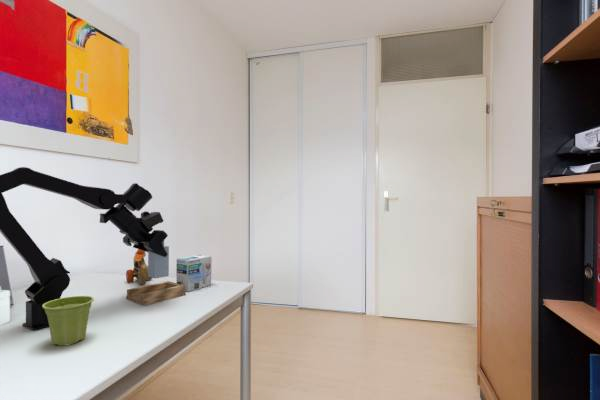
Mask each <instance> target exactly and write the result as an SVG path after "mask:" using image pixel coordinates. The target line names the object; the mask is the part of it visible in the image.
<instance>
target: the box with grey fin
mask: <svg viewBox="0 0 600 400" xmlns="http://www.w3.org/2000/svg"><path fill="white" fill-rule="evenodd" d="M162 245H163V247H164V249H165V250H166V252H167V254H168V255H167V256H166V257H163V256H160V255H158V254H155V253H152V252H150V251H148V252H147V255H148V257H147V263H148V264H147V266H148V277H151V278H152V279H155V280H157V279H162V278H166V277H169V272H170V271H169V270H170V266H169V265H170V263H169V262H170V261H169V260H170V246H167V245H165V240H164V241H163V242H162Z"/></svg>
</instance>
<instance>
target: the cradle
mask: <svg viewBox="0 0 600 400" xmlns="http://www.w3.org/2000/svg"><path fill="white" fill-rule="evenodd" d="M186 292H187V291H185V285H181V284H177V282H173V281H169V280H166V281H162V282H157V283H153V284H152V283H151V284H147V285H142V286H138V287H133V288H129V289H128V288H127V289H126V300H129V301H130V302H133V303H136V304H139V305H142V306H143V307H144V306H147V305H152V304H154V303H160V302H164V301H168V300H171V298H172V299H175V297H176V298H179V296H180V297H183V295H184V296H186V295H187V293H186Z"/></svg>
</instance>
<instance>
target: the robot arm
mask: <svg viewBox="0 0 600 400" xmlns="http://www.w3.org/2000/svg"><path fill="white" fill-rule="evenodd" d="M22 185H25V186H28V187H31V188H36V189H39V190H43V191H46V192H50V193H53V194H57V195H60V196H64V197H68V198H71V199H74V200H77V201H78V202H80V203H82V204H83V205H86V207H90V208H92V209H95V210H107V211H106V212H105V213H101V212H100V213H99V217H100V218H99V223H100V224H107V223H109V222H111V224H113V225H114V226H115V227H116V228H118V230H119V233H120V234H123V235H124V236H123V238H122V243H123V244H124V245H126V246H127V247H131V246H132V245H133V246H132V247H133V248H134V249H137V250H138V249H140V250H143V251H145V252H146V253H148V251H150V252H152V253H155V254H158V255H160V256H163V257H166V256H167V255H168V254H167V252H166V250H165V249H164V247H163V245H162V242H163V241H164V242H165V240H166V238H168V234H167V233H166V231H164V230H161V229H160V230H159V229H154V227H155V226H157V225H159V224H162V223H163V222H164V218H163V216H162V214H161V212H160V211H153V212H149V211H143V212H141V213H140V217H137V215H135V214H134V213H133V212H135V211H136V212H137V211H138V212H139V211H141V210H142V209H143V208H144V207H145V206H146V205H147V204H148V203H149V202H150V201H151V200H152V198H153V195H152V194H151V191H149V190H147V189H146V188H144V187H143V186H141V185H139V184H138V183H135V182H134V183H132V184H131V185H130V187H129V188H128V189H127V190H126V191H124V192H123V193H122V194H120V193H119V194H117V193H115V191H114V190H111V189H109V188H103V187H95V186H88V185H87V186H86V185H81V184H79V183H75V182H72V181H68V180H65V179H62V178H58V177H55V176H52V175H50V174H46V173H43V172H40V171H36V170H33V169H31V167H30V168H29V167H26V166H21V167H16V168H15V169H13V170H11V171H8V172H5V173H3V174H0V234H1V235H2V237H4V238H5V240H6V241H7V243H9V244H10V246H11V247H12V249H14V250H15V252H16V253H17V254H18V255H19V256H20V257H21V259H22V260H23V261H24V263H26V265H27V266H28V269H29V272H30V274H31V277H32V279H33V281H34V282H33V283H31V285H29V286H28V287H27V288H26V289H25V290H24V293H25V295H26V297H27V299H29V300H28V301H25V322H23V323H22V327H26V328H27V329H30V330H33V331H37V330H41V329H44V328H47V327H49V322H48V317H47V314H46V313H45V309H44V308H43V307H42V305H43V304H44V303H46V302H49V301H52V300H55V299H60V298H62V294H63V292H64V291H66V289H67V288H68V287H69V285H70V281H71V278H70V276H69V274H70V273H71V271H69V270H67V269H66V268H65V266H64V264H63V263H62V261H61V260H60V259H57V258H54V257H52V258H51V259H49V258H48V257H46V255H45V254H44V252H43V251H42V250H41V249H40V248H39V247H38V245H37V244H36V243H35V241H34V240H33V238H31V236H30V235H29V233H27V232H26V230H25V229H24V228H23V227H22V225H21V224H20V222H19V221H18V220H17V218H16V217H15V216H14V215H13V214H12V212H11V211H10V210H9V207H8V204H7V202H6V198H5V197H4V195H3V193H4V192H8V191H10V190H13V189H15V188H17V187H20V186H22ZM150 232H151V233H150Z"/></svg>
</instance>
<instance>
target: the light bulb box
mask: <svg viewBox="0 0 600 400" xmlns="http://www.w3.org/2000/svg"><path fill="white" fill-rule="evenodd" d="M176 283H177V284H181V285H185V292H188V291H189V292H192V291H196V290H200V289H203V288H202V287H204V288H207V287H206V286H208V287H210V286H209V285H211V286H212V256H211V255H205V254H204V255H203V254H196V255H189V256H185V257H179V258H176ZM199 288H200V289H199ZM195 289H196V290H195Z"/></svg>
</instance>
